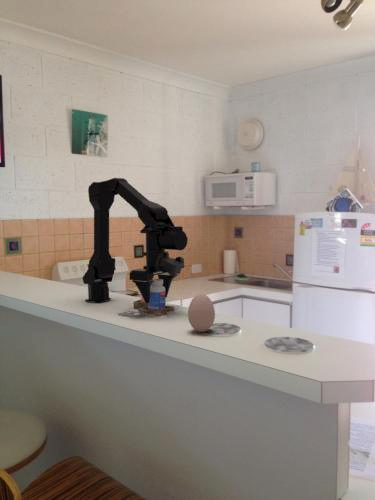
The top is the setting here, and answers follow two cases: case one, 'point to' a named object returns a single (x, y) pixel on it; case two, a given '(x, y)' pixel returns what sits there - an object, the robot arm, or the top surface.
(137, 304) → the walnut frame
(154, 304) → the pill bottle
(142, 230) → the robot arm
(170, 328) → the top surface
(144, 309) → the walnut socket
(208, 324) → the egg
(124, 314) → the slate card
